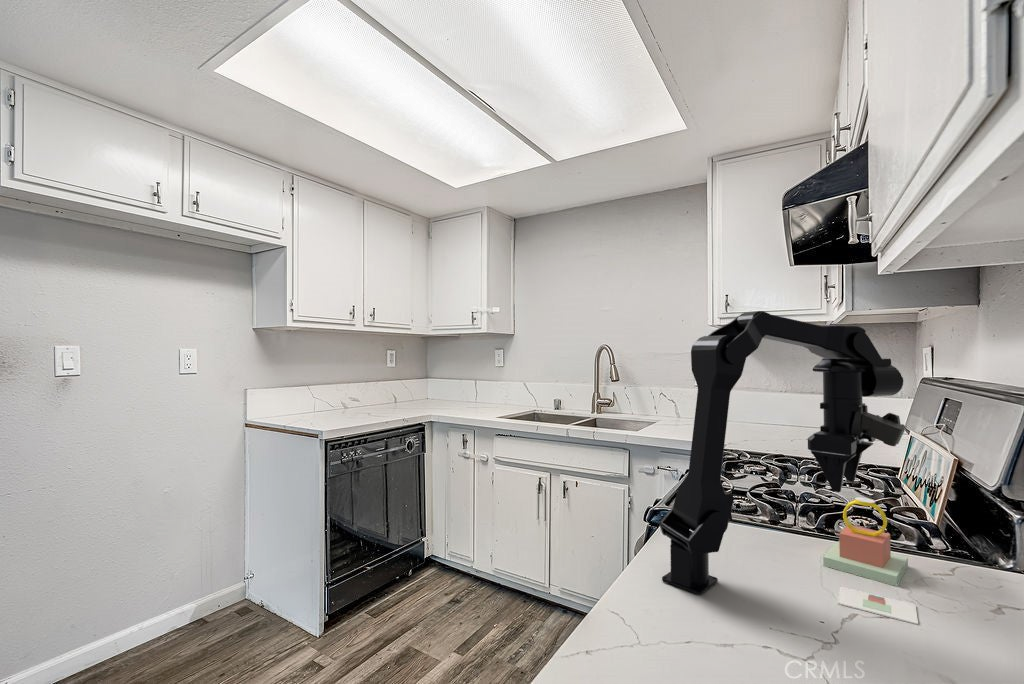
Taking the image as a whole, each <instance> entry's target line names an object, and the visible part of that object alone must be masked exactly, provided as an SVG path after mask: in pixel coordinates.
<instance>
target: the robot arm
mask: <svg viewBox="0 0 1024 684" xmlns="http://www.w3.org/2000/svg"><path fill="white" fill-rule="evenodd" d="M763 339H767V340H771V341H776V342H781V343H786V344H790V345H795V346H799V347H803V348H805V349H808V351H809V352H810V353H812V354H814V355H816V356H819V357H821V360H820V362H818V363H816V364H815V366H813V367H812V371H813V372H817V373H818V372H819V373H822V392H823V393H822V395H823V396H822V398H823V401H822V402H820V403H819V409H820V410H823V425H820V426H819V428H820V429H819V430H820V431H817V432H814V433H812V434H811V435H810V436H809V437H808V438H807V450H809V451H810V453H811V455H813V457H814V459H815V460H816V462H817V464H818V466H819V467H820V469H821V471H822V472H823V475H824V477H825V479H826V481H827V482H828V484H829V486H830V489H831V490H832V491H833V492H835V493H840V492H841V491H842V488H843V487H842V486H843V482H844V477H845V480H846V481H847V482H850V483H851V482H852V483H853V482H855V480H856V476H857V473H858V469H859V464H860V461H861V458H862V454H863V453H864V451H866V450H867V449H868V448H870V447H871V446H873V445H874V443H873V442H875V441H876V440H877V441H880V442H882V443H883V444H885V445H888V446H890V447H896V446H897V445H899V443H900V442H901V438H902V437H903V434H904V433H905V431H906V429H907V426H905V424H903V423H901V418H900V415H897V414H895V413H892V412H888V413H886V414H885V415H883V416H880V415H878V414H873V413H871V412H869V411H868V405H866V403H864V402H863V397H864V398H868V397H888V396H890V397H891V396H894V395H897V394H898V393H899V392H900V391H902V388H903V387H904V377H903V376H902V373H901V371H900V370H899V369H898V368H897V367H895V366H894V365H892V359H891V358H882V357H881V355H880V353H879V352H878V350H877V348H876V347H875V345H874V344H873V342H872V340H871V338H870V337H869V335H868V334H867V331H866V329H865V328H863V327H861V326H859V325H819V324H815V323H809V322H806V321H802V320H797V319H794V318H793V319H792V318H788V317H784V316H780V315H775V314H770V313H769V312H766V311H765V310H764V311H763V310H757V311H748V312H743V313H740V314H739V315H738V316H736V317H735V318H734V319H733V320H731V321H730V322H729V323H726V324H724V325H723V326H721V327H719V328H718V329H715V330H714V331H712V332H711V333H710V334H708V335H704V336H701V337H699V338H697V340H696V341H694V342H693V344H692V346H691V350H690V362H691V372H692V375H693V378H694V381H695V382H696V385H697V393H696V402H695V404H696V405H695V412H694V422H693V430H692V436H691V437H692V440H691V448H690V455H689V456H690V457H689V465H688V472H687V475H686V477H685V478H684V479H683V481H682V482H681V483H680V485H679V486H678V487H677V491H676V494H675V498H674V500H673V501H674V502H673V506H672V507H671V508H670V509H669V510H668V512H667V513H665V515H664V517H663V518H662V519H661V520H660V522H659V528H660V530H661V533H662V535H663V536H666V537H667V538H669V539H670V546H669V547H670V571H669V572H667V573H666V574H665V575H663V576H661V581H662V582H664V583H667V584H669V585H672V586H675V587H678V588H680V589H683V590H685V591H687V592H689V593H693V594H696V595H702V594H703V593H705V592H706V591H707V590H709V589H710V588H712V586H714V585H715V584H717V583H718V580H719V579H718V577H716V576H713V575H710V571H709V570H710V569H709V565H710V564H709V563H710V562H709V556H710V554H711V553H718V552H719V550H720V549H721V545H722V541H723V538H724V533H726V531H727V530H728V526H729V521H730V522H732V521H733V517H732V509H733V505H734V494H733V493H731V492H729V491H726V490H725V489H724V486H723V483H722V471H723V469H722V468H723V461H724V452H725V451H724V450H725V443H726V434H727V425H728V415H729V408H730V407H729V405H730V397H731V391H732V390H733V388H734V387H735V386H736V384H737V383H738V381H739V379H740V378H742V375H743V372H744V368H745V364H746V361H747V358H748V357H749V356H750V355H752V354H753V352H755V351H757V349H758V348H759V346H760V344H761V343H762V340H763ZM865 440H868V441H865Z"/></svg>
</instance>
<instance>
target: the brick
mask: <svg viewBox="0 0 1024 684" xmlns="http://www.w3.org/2000/svg"><path fill="white" fill-rule="evenodd" d="M851 525H852V524H851ZM852 526H853V527H854V528H855V529H857V530H862V531H867V532H873V533H875V532H877V531H878V530H874V529H870V528H866V527H862V526H856V525H852ZM838 535H839V536H838V537H839V538H838V539H839V540H838V541H839V549H840V557H843V558H846V559H850V560H854V561H858V562H861V563H865V564H869V565H873V566H876V567H880V568H883V567H884V566H885V565H886V563H887V562H888V560H889V559H890V557H891V554H892V553H891V533H887V532H883V533H882V534H880V535H878V536H876V537H873V536H868V535H863V534H858V533H854V532H853V531H851V530H850V529H849V528H848V527H847V526H845V527H844V528H843V529H842V530H841V531H840V532H839V534H838Z"/></svg>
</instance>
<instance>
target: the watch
mask: <svg viewBox="0 0 1024 684" xmlns="http://www.w3.org/2000/svg"><path fill="white" fill-rule="evenodd" d="M853 505H860V506H864V507H872V508H873V509H875V510H876V511H878V513H879V515H880V516H881V517H882V522H883V524H882V526H881V528H880V529H879V530H876V531H877V532H875V533H873V532H867V531H862V530H857V529H855V528H854V527H853V526H854V525H853V526H852V524H851V523H850V521H849V518H848V517H847V515H848V514H847V513H848V510H849V508H850V507H851V506H853ZM842 513H843V514H842V518H843V522H844V524H845V525H846V526H847V527H848V528H849V529H850V530H851V531H853V532H854V533H858V534H863V535H868V536H873V537H876V536H878V535H880V534H882V533H883V532H884V531H885V530H886V527H887V526H888V521H887V516H886V513H885V512H884V510H883V509H882V508H881V506H879V505H877V504H876V502H875V500H873V499H871V498H868V497H860V496H859V497H858V496H857V497H855V498H854V500H851V501H849V502H848V503H847V505H846V506H845V507H844V509H843V512H842ZM846 526H845V527H846ZM884 533H885V532H884Z"/></svg>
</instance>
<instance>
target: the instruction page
mask: <svg viewBox="0 0 1024 684" xmlns="http://www.w3.org/2000/svg"><path fill="white" fill-rule="evenodd" d="M837 604H838V605H841V606H845V607H847V608H848V607H849V608H853V609H856V610H860V611H865V612H869V613H873V614H874V615H875V614H876V615H879V616H883V617H887V618H891V619H895V620H899V621H902V622H906V623H910V624H914V625H918V626H919V621H918V612H917V606H916V604H914V603H911V602H907V601H902V600H899V599H893V598H890V597H885V596H881V595H878V594H873V593H869V592H865V591H860V590H857V589H856V590H855V589H852V588H847V587H844V586H840V587H839V593H838V600H837Z"/></svg>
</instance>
